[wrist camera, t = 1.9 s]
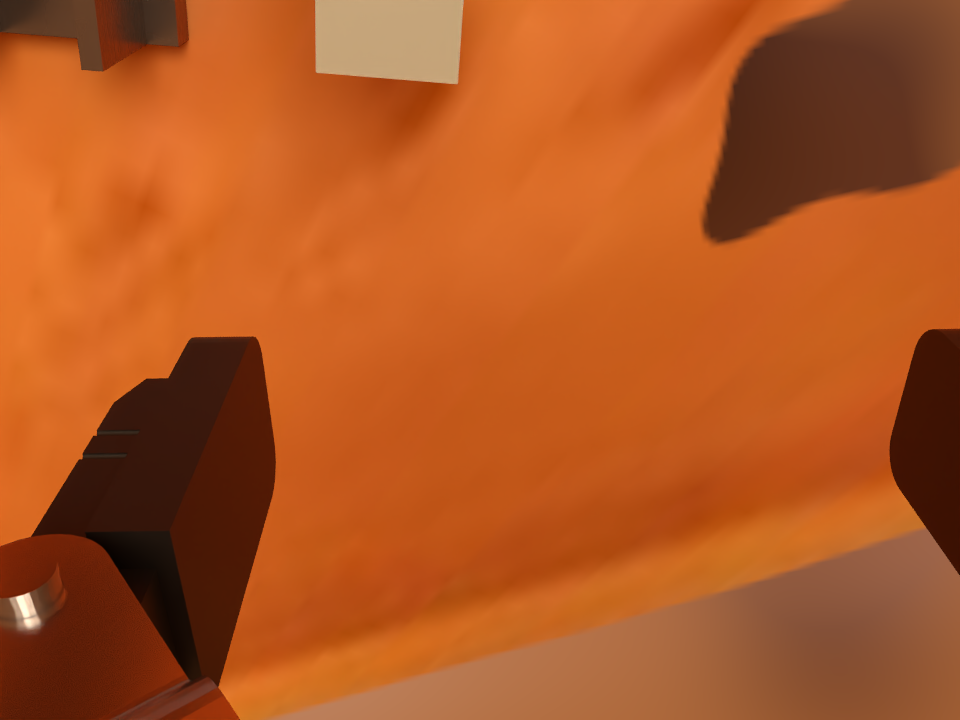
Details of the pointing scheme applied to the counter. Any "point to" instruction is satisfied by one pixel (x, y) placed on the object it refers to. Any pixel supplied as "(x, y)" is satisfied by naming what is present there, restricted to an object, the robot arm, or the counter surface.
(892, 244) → the counter surface
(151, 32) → the dish rack
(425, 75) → the tall cream pillar
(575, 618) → the counter surface
